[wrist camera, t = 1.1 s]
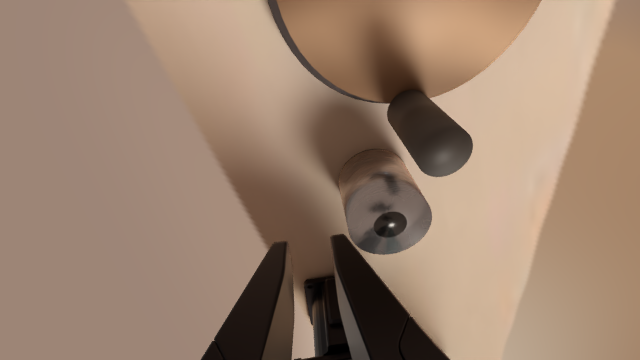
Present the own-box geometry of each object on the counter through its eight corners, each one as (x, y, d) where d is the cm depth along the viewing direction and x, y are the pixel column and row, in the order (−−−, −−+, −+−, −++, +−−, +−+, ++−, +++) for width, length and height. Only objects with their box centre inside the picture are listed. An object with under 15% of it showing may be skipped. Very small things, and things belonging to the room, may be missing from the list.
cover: (404, 202, 24) (427, 250, 20) (340, 210, 24) (350, 259, 20) (408, 145, 22) (436, 185, 17) (336, 153, 22) (347, 196, 17)
